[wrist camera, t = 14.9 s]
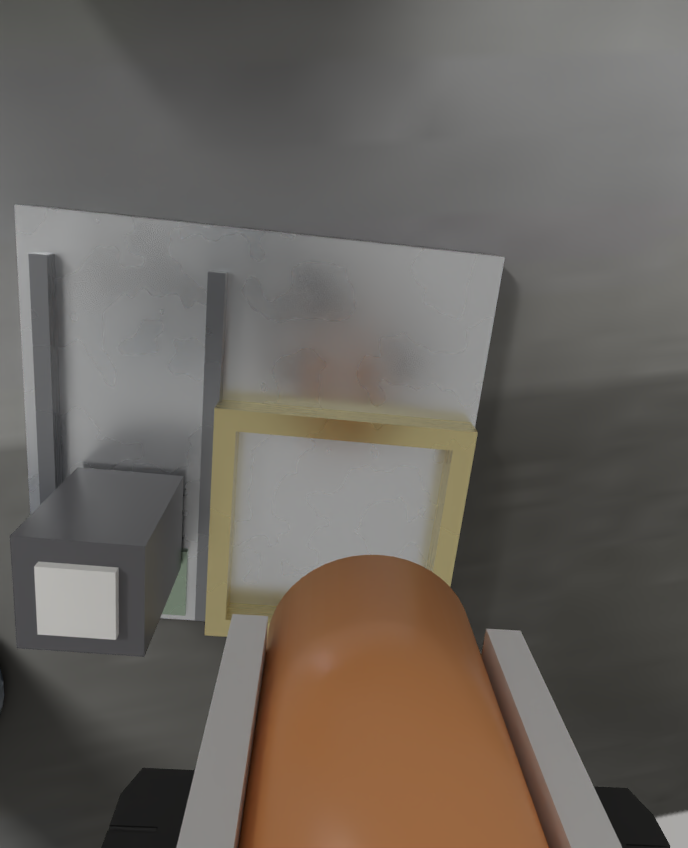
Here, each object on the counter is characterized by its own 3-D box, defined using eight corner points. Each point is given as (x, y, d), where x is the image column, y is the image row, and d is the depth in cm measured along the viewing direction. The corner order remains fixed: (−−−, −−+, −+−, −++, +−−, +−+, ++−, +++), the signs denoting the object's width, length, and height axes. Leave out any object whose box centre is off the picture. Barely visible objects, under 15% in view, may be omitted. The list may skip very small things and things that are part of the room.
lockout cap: (272, 547, 14) (214, 889, 7) (484, 561, 14) (645, 904, 7) (262, 722, 16) (206, 1156, 8) (455, 732, 16) (563, 1162, 9)
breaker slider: (77, 467, 24) (4, 540, 19) (183, 476, 24) (142, 551, 19) (80, 559, 25) (12, 654, 20) (180, 567, 26) (141, 662, 20)
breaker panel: (33, 205, 23) (-4, 203, 20) (494, 254, 24) (514, 259, 21) (50, 589, 28) (22, 626, 25) (432, 616, 29) (442, 655, 26)
